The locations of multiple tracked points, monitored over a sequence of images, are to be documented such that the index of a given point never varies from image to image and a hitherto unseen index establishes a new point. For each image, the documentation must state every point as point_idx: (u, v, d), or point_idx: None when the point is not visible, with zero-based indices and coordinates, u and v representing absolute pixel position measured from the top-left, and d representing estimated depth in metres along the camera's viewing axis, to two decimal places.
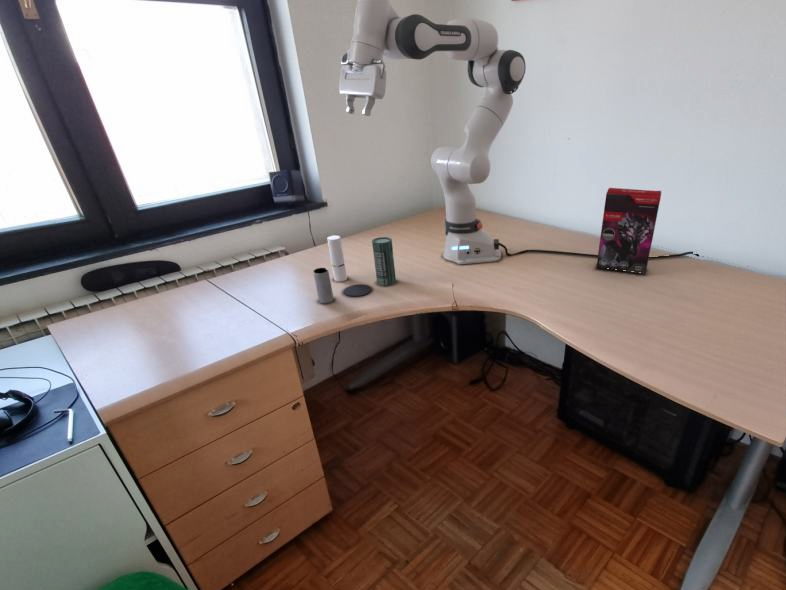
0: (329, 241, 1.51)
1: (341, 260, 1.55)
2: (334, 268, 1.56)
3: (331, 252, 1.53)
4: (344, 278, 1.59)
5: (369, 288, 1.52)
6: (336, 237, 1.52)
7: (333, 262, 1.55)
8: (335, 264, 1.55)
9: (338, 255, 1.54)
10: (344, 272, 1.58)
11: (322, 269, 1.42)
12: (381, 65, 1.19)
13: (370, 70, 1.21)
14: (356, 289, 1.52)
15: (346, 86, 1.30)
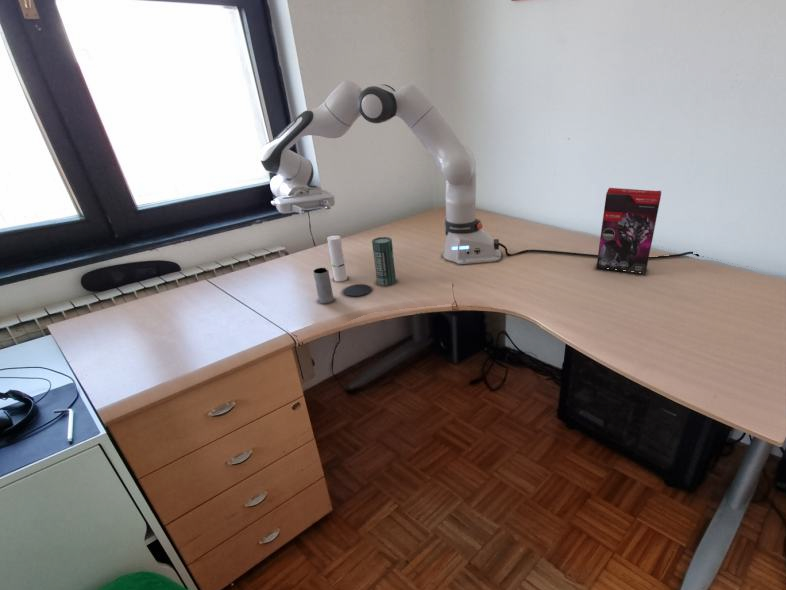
0: (329, 241, 1.51)
1: (341, 260, 1.55)
2: (334, 268, 1.56)
3: (331, 252, 1.53)
4: (344, 278, 1.59)
5: (369, 288, 1.52)
6: (336, 237, 1.52)
7: (333, 262, 1.55)
8: (335, 264, 1.55)
9: (338, 255, 1.54)
10: (344, 272, 1.58)
11: (322, 269, 1.42)
12: None
13: None
14: (356, 289, 1.52)
15: None
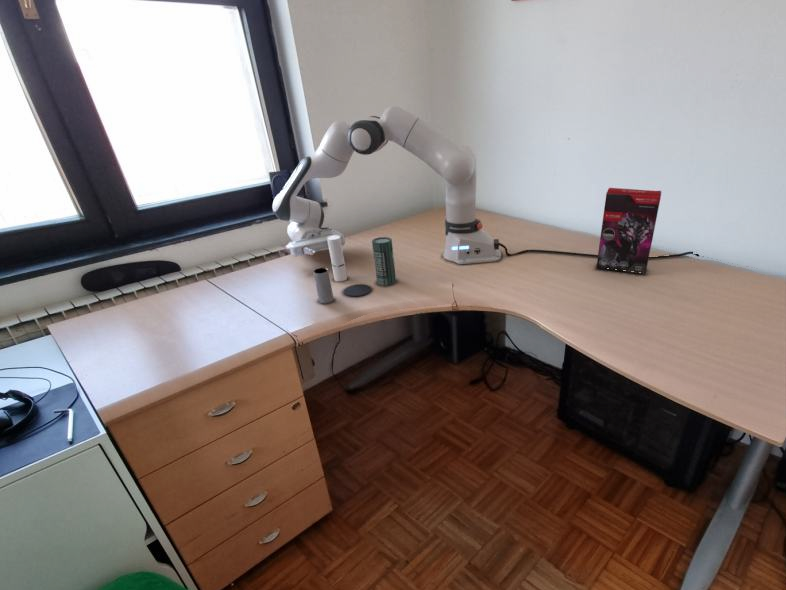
0: (329, 241, 1.51)
1: (341, 260, 1.55)
2: (334, 268, 1.56)
3: (331, 252, 1.53)
4: (344, 278, 1.59)
5: (369, 288, 1.52)
6: (336, 237, 1.52)
7: (333, 262, 1.55)
8: (335, 264, 1.55)
9: (338, 255, 1.54)
10: (344, 272, 1.58)
11: (322, 269, 1.42)
12: None
13: None
14: (356, 289, 1.52)
15: None
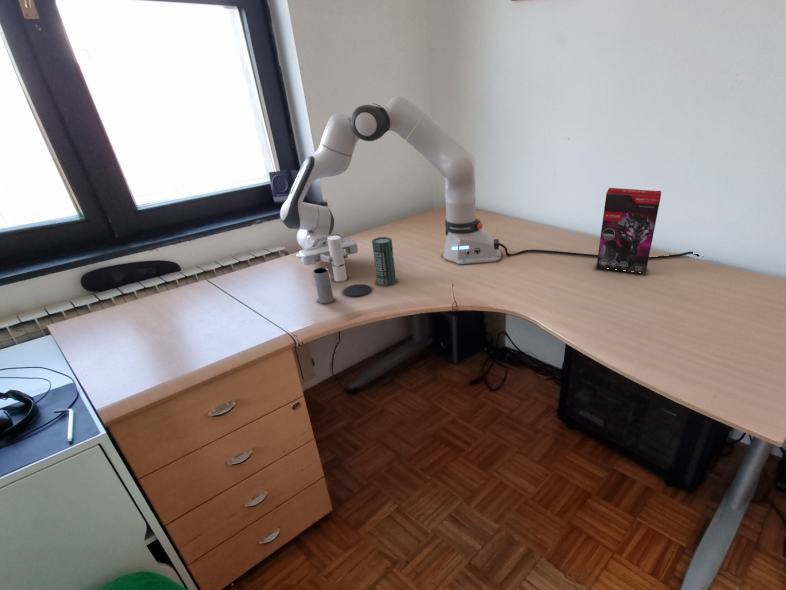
0: (329, 241, 1.51)
1: (341, 260, 1.55)
2: (334, 268, 1.56)
3: (331, 252, 1.53)
4: (344, 278, 1.59)
5: (369, 288, 1.52)
6: (336, 237, 1.52)
7: (333, 262, 1.55)
8: (335, 264, 1.55)
9: (338, 255, 1.54)
10: (344, 272, 1.58)
11: (322, 269, 1.42)
12: None
13: None
14: (356, 289, 1.52)
15: None
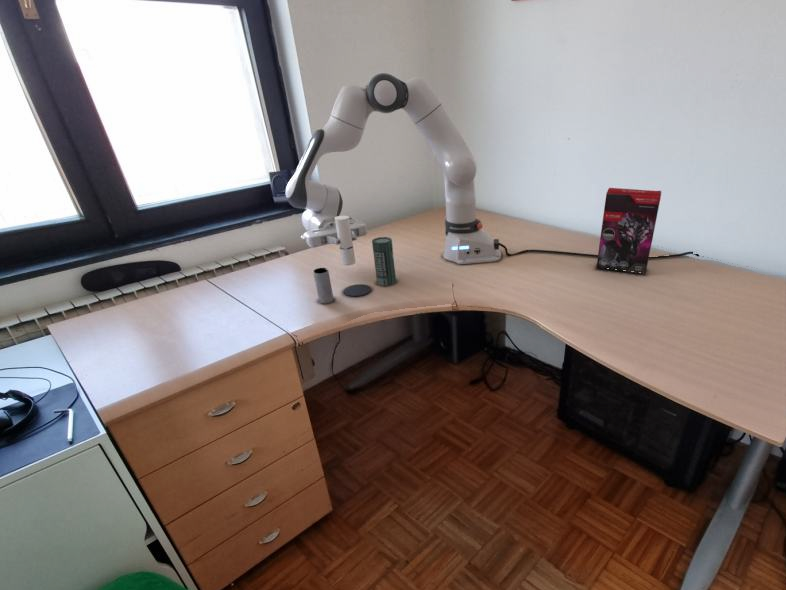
0: (337, 221, 1.41)
1: (349, 242, 1.45)
2: (342, 251, 1.46)
3: (339, 233, 1.43)
4: (352, 262, 1.48)
5: (369, 288, 1.52)
6: (344, 217, 1.42)
7: (341, 244, 1.44)
8: (343, 246, 1.45)
9: (346, 237, 1.43)
10: (352, 255, 1.47)
11: (322, 269, 1.42)
12: None
13: None
14: (356, 289, 1.52)
15: None
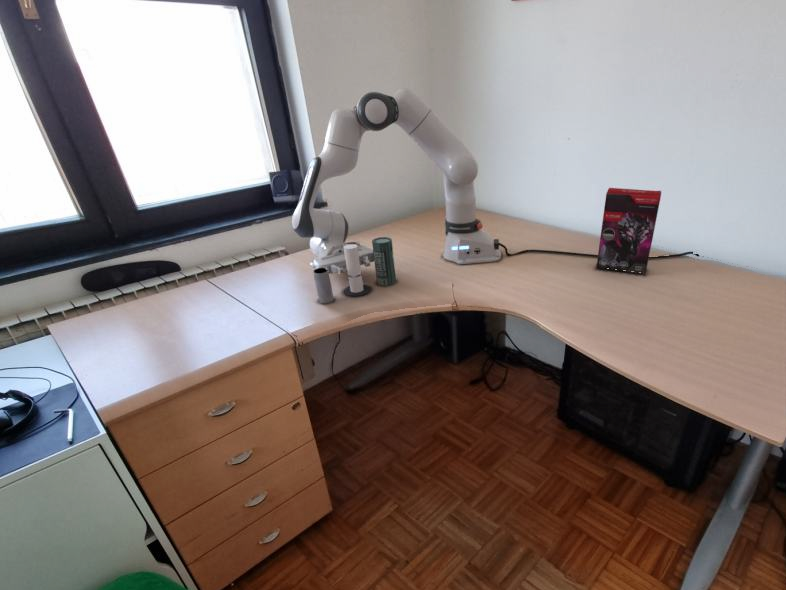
0: (345, 250, 1.42)
1: (358, 270, 1.46)
2: (350, 279, 1.47)
3: (347, 262, 1.44)
4: (361, 289, 1.50)
5: (369, 288, 1.52)
6: (353, 246, 1.43)
7: (349, 272, 1.46)
8: (351, 274, 1.46)
9: (354, 265, 1.45)
10: (361, 283, 1.49)
11: (322, 269, 1.42)
12: None
13: None
14: None
15: None
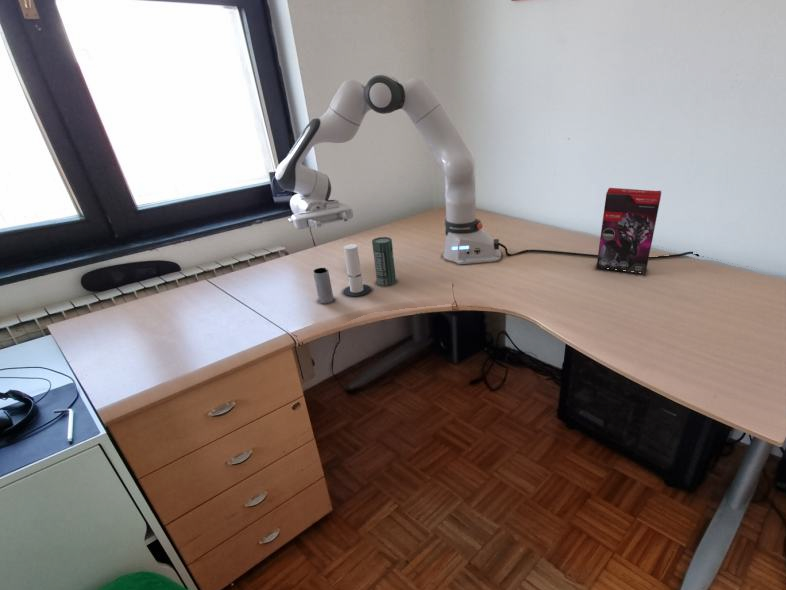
0: (345, 250, 1.42)
1: (358, 270, 1.46)
2: (350, 279, 1.47)
3: (347, 262, 1.44)
4: (361, 289, 1.50)
5: (369, 288, 1.52)
6: (353, 246, 1.43)
7: (349, 272, 1.46)
8: (351, 274, 1.46)
9: (354, 265, 1.45)
10: (361, 283, 1.49)
11: (322, 269, 1.42)
12: None
13: None
14: None
15: None
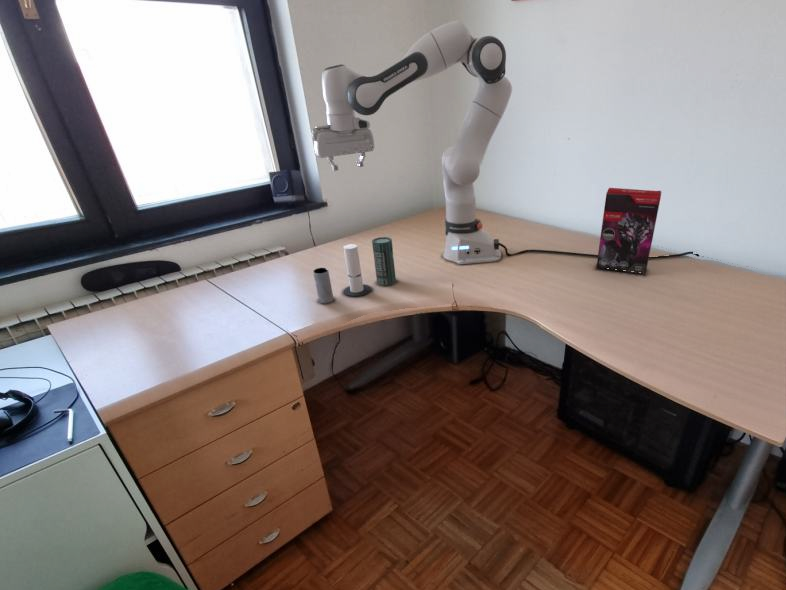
0: (345, 250, 1.42)
1: (358, 270, 1.46)
2: (350, 279, 1.47)
3: (347, 262, 1.44)
4: (361, 289, 1.50)
5: (369, 288, 1.52)
6: (353, 246, 1.43)
7: (349, 272, 1.46)
8: (351, 274, 1.46)
9: (354, 265, 1.45)
10: (361, 283, 1.49)
11: (322, 269, 1.42)
12: None
13: None
14: None
15: None
